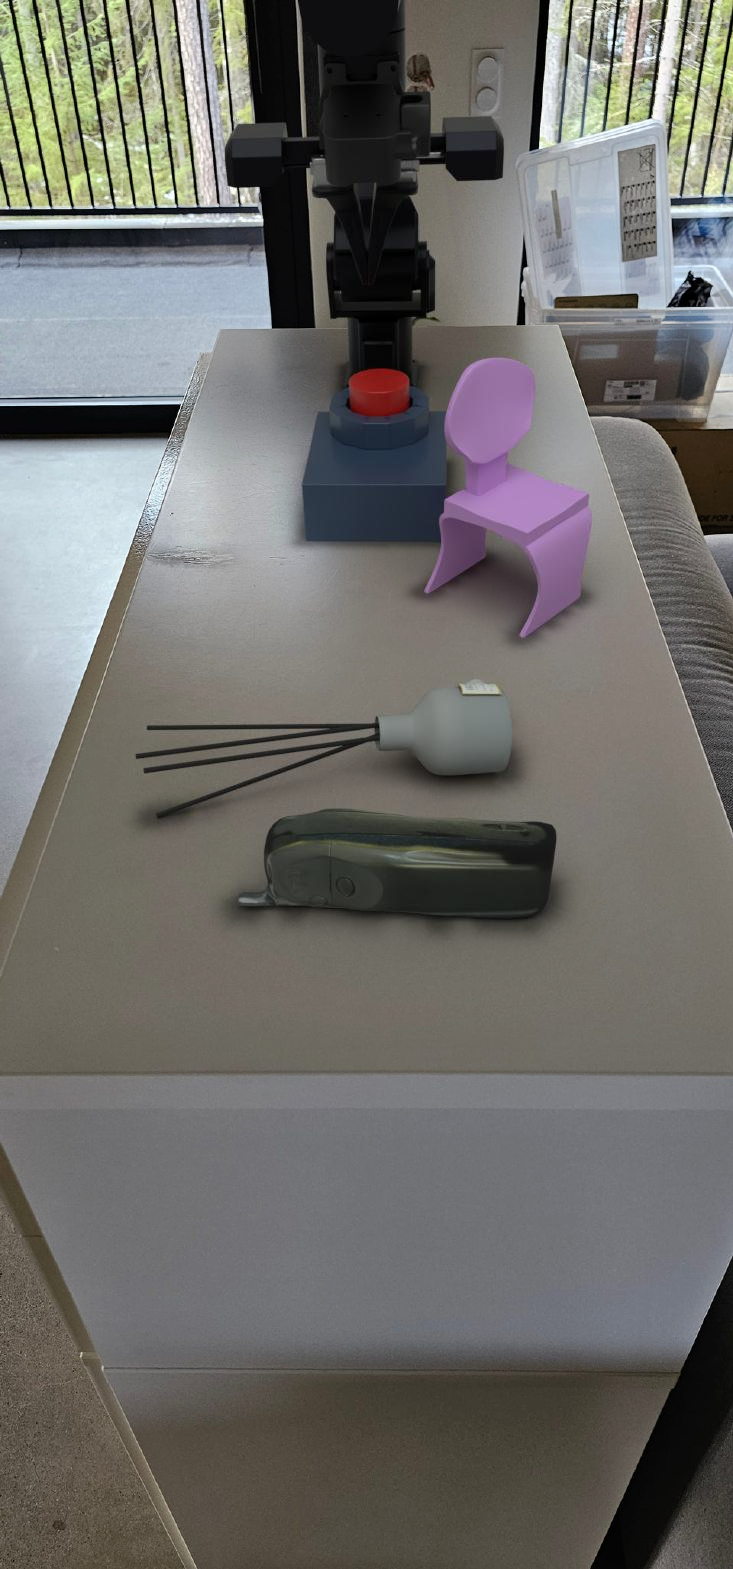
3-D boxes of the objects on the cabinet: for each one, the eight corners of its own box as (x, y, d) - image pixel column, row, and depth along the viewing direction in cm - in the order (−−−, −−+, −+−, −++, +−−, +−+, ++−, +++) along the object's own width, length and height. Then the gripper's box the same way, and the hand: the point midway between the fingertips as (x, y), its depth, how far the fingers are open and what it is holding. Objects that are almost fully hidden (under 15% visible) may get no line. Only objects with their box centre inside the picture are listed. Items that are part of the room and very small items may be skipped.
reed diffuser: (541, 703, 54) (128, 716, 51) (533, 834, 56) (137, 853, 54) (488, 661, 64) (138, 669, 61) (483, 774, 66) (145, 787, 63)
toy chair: (519, 649, 69) (538, 418, 59) (413, 599, 73) (413, 376, 63) (595, 593, 73) (624, 370, 63) (490, 549, 78) (502, 334, 68)
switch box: (321, 461, 89) (316, 382, 84) (445, 461, 88) (447, 381, 84) (306, 542, 79) (299, 457, 75) (444, 542, 79) (446, 457, 74)
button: (352, 395, 83) (351, 368, 82) (410, 395, 83) (410, 368, 82) (347, 420, 80) (346, 392, 79) (408, 420, 80) (408, 392, 78)
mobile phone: (556, 807, 51) (235, 801, 52) (563, 854, 49) (227, 847, 49) (545, 880, 55) (244, 874, 55) (550, 927, 52) (236, 919, 53)
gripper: (202, 57, 65) (231, 326, 76) (518, 46, 65) (503, 318, 75) (221, 26, 73) (245, 273, 84) (502, 17, 73) (491, 266, 83)
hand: (367, 283), depth 81 cm, fingers closed
